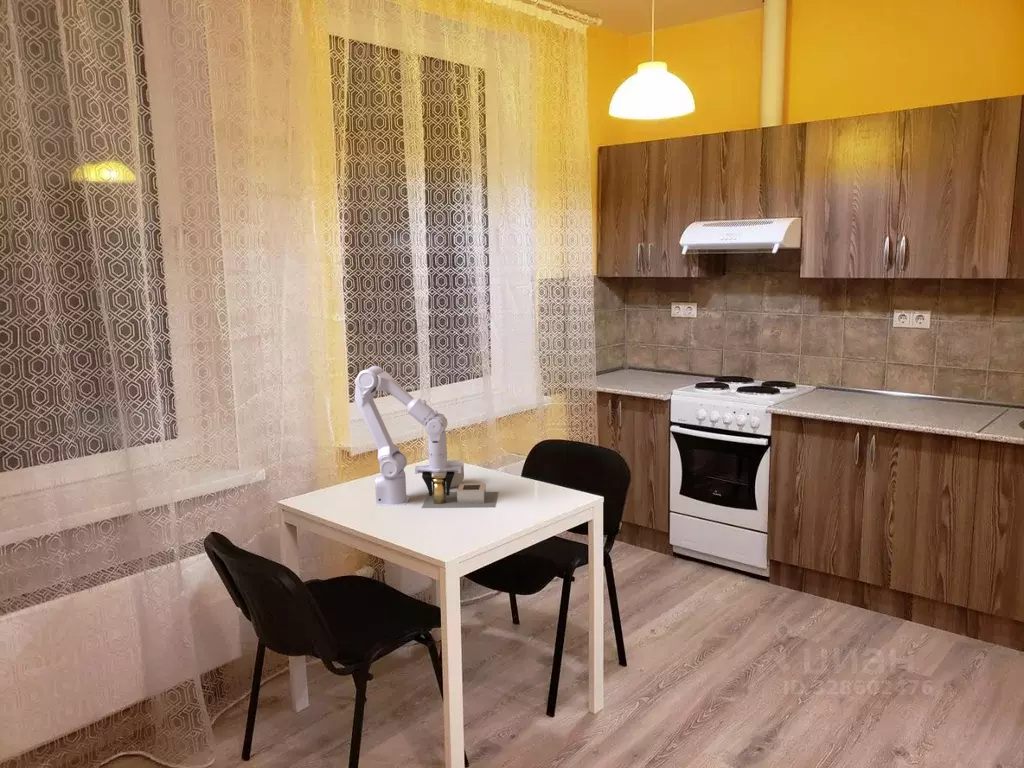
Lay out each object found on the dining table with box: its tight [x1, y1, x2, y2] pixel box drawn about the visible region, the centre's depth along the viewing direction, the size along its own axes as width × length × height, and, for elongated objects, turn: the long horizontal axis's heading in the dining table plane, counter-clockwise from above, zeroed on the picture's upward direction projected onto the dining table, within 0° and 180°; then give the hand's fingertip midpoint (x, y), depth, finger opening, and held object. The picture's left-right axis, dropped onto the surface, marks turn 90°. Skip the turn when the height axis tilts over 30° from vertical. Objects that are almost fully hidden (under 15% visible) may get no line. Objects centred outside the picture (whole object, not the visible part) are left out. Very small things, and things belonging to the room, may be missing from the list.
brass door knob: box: [431, 475, 446, 504], centre depth 241 cm, size 5×5×8 cm
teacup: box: [432, 459, 465, 489], centre depth 261 cm, size 14×11×8 cm
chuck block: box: [456, 482, 487, 504], centre depth 244 cm, size 8×8×4 cm
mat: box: [421, 491, 499, 509], centre depth 244 cm, size 23×16×1 cm
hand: (439, 494), depth 241 cm, fingers closed on brass door knob, 5 cm apart
